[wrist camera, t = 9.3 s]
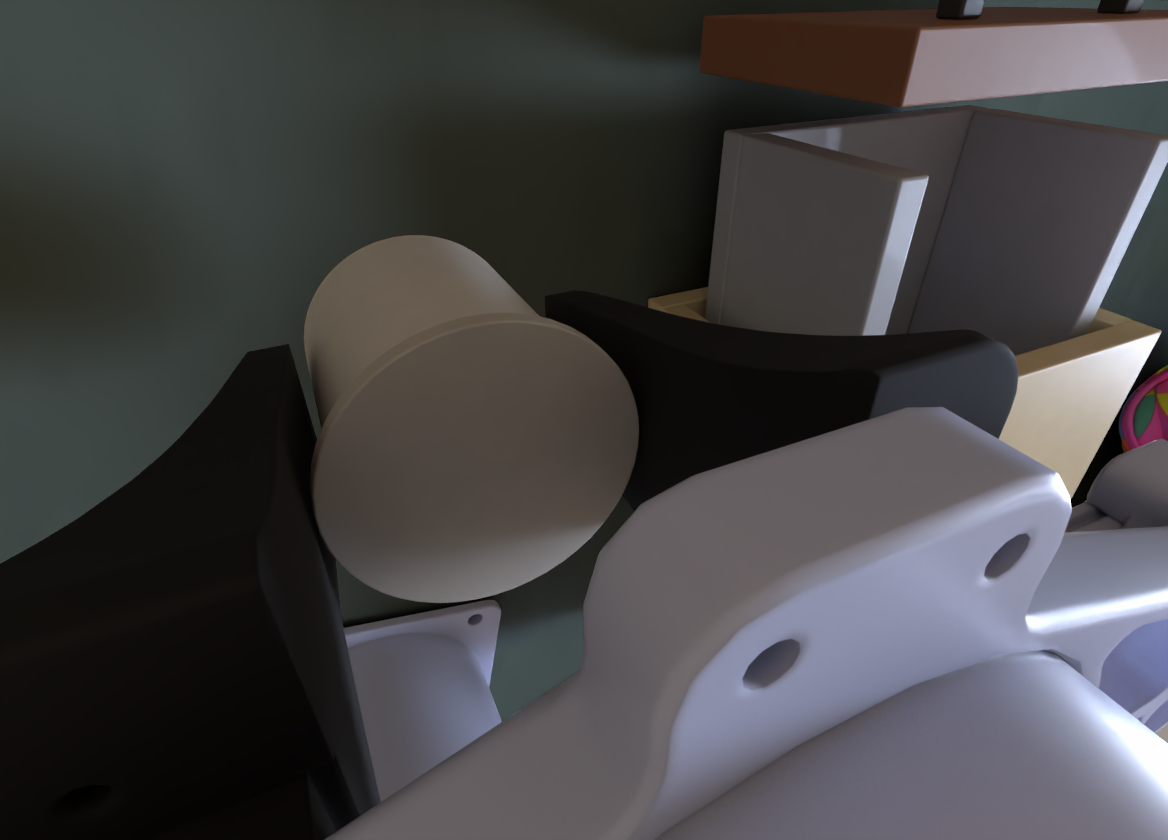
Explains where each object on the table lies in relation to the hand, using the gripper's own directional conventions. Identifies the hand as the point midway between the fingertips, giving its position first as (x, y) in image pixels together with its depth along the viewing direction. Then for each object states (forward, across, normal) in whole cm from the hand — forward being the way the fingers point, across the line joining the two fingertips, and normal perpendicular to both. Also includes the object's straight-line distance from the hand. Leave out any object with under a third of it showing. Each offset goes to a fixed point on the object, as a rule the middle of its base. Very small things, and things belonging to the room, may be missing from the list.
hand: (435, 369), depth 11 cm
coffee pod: (+1, 0, 0) cm, 1 cm away
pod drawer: (+5, -13, -1) cm, 14 cm away
